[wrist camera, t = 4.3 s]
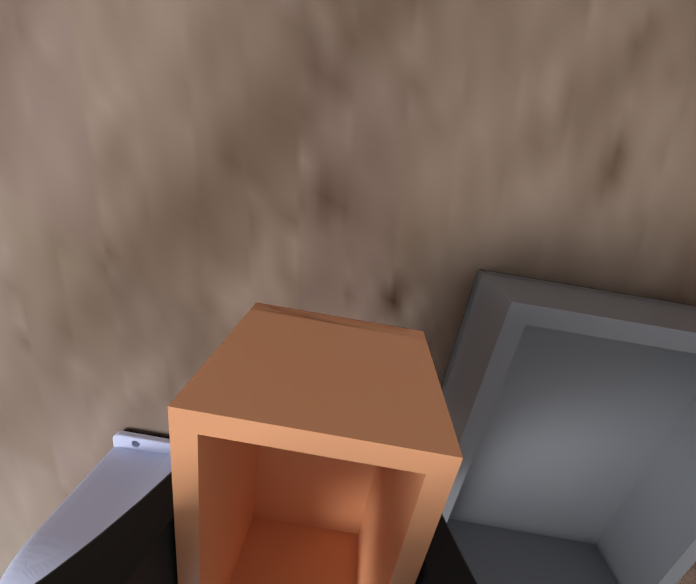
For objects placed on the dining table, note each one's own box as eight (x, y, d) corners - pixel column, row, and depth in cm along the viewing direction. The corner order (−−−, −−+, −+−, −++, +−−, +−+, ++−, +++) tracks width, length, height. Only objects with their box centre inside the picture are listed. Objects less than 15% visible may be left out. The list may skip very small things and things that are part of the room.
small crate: (244, 509, 13) (183, 673, 9) (256, 302, 10) (167, 406, 5) (369, 531, 13) (367, 707, 9) (423, 331, 10) (462, 458, 5)
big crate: (402, 510, 22) (408, 581, 18) (478, 269, 16) (511, 301, 12) (595, 544, 22) (642, 622, 18) (749, 315, 16) (868, 362, 12)
